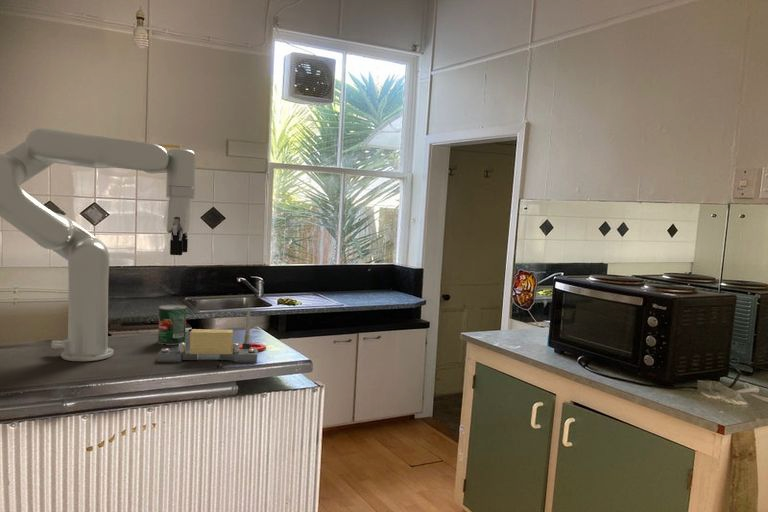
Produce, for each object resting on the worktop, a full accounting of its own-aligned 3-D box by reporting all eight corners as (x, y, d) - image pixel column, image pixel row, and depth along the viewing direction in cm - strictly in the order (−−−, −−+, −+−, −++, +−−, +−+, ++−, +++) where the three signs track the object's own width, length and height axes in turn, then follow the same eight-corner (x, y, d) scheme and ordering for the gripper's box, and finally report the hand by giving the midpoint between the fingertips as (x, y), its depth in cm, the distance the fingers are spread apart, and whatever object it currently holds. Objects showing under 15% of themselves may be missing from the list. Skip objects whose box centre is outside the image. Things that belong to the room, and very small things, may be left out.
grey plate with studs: (157, 362, 155) (157, 345, 155) (161, 356, 161) (162, 340, 161) (256, 362, 160) (257, 346, 160) (257, 356, 166) (257, 341, 166)
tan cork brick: (189, 353, 158) (190, 332, 157) (191, 350, 162) (192, 329, 161) (231, 354, 160) (232, 332, 159) (232, 350, 164) (232, 329, 163)
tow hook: (243, 345, 180) (231, 351, 171) (246, 304, 179) (234, 307, 170) (269, 348, 179) (258, 354, 169) (272, 306, 178) (261, 310, 169)
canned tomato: (152, 343, 175) (153, 307, 174) (167, 338, 182) (168, 303, 182) (176, 346, 173) (177, 309, 172) (190, 340, 181) (191, 305, 180)
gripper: (171, 193, 172) (170, 250, 173) (160, 192, 155) (159, 255, 156) (198, 194, 173) (196, 251, 175) (190, 193, 156) (188, 256, 158)
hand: (178, 253), depth 165 cm, fingers open, 9 cm apart
